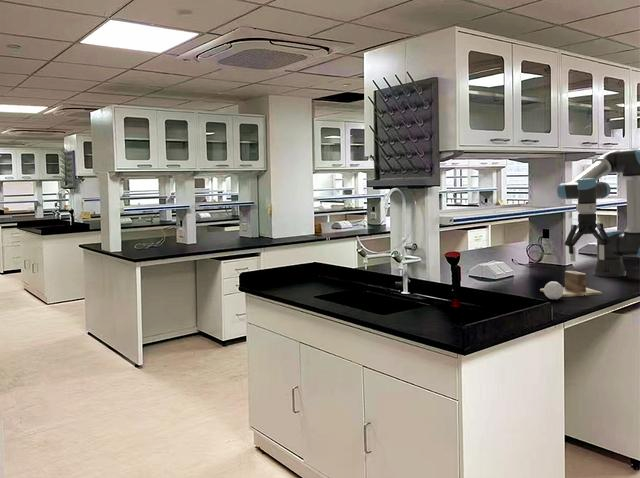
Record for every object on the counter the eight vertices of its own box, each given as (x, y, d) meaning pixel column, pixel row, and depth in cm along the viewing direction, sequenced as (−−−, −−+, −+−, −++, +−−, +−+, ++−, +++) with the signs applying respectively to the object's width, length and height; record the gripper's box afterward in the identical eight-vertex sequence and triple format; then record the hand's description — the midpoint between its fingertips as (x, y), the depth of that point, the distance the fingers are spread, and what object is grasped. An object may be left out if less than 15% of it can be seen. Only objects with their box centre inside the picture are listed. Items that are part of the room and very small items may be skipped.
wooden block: (573, 287, 260) (573, 270, 259) (585, 291, 250) (585, 273, 249) (564, 288, 259) (564, 271, 258) (577, 292, 249) (577, 274, 249)
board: (580, 288, 263) (580, 286, 263) (601, 294, 248) (601, 292, 247) (540, 290, 261) (539, 288, 261) (558, 297, 245) (558, 294, 245)
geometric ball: (549, 305, 241) (537, 291, 242) (555, 296, 247) (543, 282, 247) (563, 299, 236) (551, 284, 236) (570, 289, 241) (557, 275, 241)
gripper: (565, 215, 247) (565, 263, 249) (618, 211, 250) (618, 259, 252) (556, 214, 255) (556, 261, 257) (608, 211, 257) (608, 257, 259)
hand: (587, 260), depth 254 cm, fingers open, 13 cm apart
